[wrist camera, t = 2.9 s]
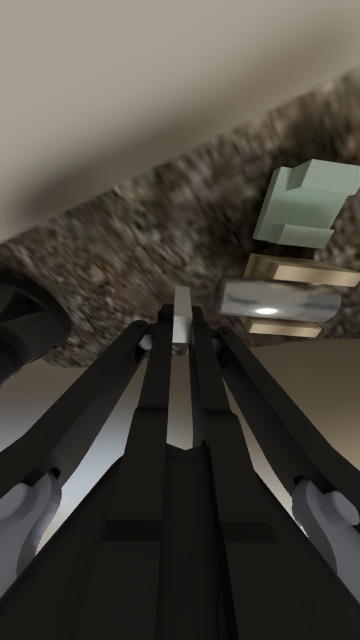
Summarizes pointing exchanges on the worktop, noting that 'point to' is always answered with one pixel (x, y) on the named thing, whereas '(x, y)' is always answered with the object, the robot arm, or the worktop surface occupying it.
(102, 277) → the worktop surface
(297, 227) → the v block
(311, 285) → the axle
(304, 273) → the wooden bracket
